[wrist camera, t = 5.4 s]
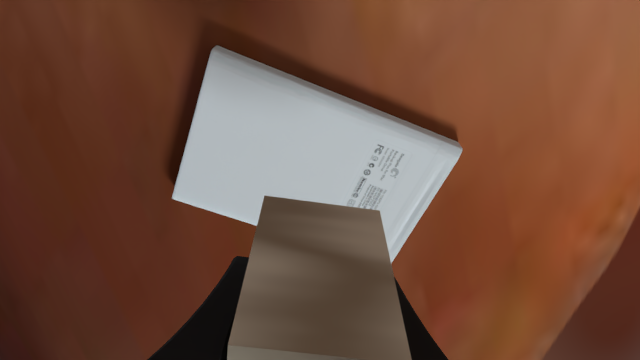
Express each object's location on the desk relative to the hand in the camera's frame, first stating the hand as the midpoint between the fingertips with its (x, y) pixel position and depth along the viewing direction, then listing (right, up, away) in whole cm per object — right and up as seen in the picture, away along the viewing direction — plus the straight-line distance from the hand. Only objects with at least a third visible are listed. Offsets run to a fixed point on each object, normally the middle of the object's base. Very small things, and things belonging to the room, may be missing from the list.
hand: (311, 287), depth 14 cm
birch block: (0, +1, +1) cm, 2 cm away
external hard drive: (0, +5, +8) cm, 9 cm away
